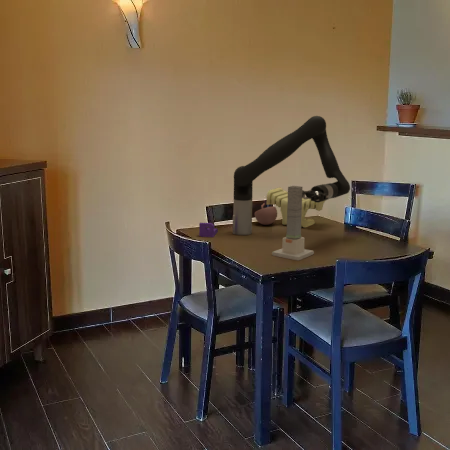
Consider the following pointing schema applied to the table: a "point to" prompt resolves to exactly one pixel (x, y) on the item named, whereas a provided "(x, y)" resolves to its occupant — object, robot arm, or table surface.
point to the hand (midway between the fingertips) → (303, 197)
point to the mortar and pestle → (266, 215)
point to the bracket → (207, 230)
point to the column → (294, 212)
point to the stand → (293, 249)
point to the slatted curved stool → (281, 200)
